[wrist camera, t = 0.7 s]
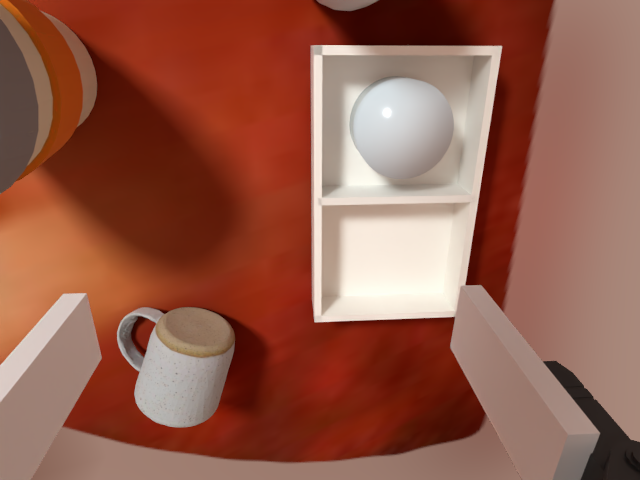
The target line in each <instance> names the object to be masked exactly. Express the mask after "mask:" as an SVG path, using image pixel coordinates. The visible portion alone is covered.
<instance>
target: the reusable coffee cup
mask: <svg viewBox="0 0 640 480" xmlns="http://www.w3.org/2000/svg"><path fill="white" fill-rule="evenodd" d="M96 96H97V78H96V71H95V68H94V65H93V62H92V59H91V57H90V55H89V53H88V51H87V50H86V48H85V46H84V45H83V43H82V42H81V41H80V39H79V38H78V37H77V36H76V34H75V33H74V32H72V31H71V30H70V29H69V28H68V27H67V26H66V25H65V24H64V23H62V22H61V21H59V20H58V19H56V18H55V17H53V16H51V15H49V14H47V13H45V12H42V11H40V10H39V9H38V8H37V7H36V6H34V5H33V4H31V3H30V2H28V1H27V0H0V194H1V193H2V192H4V191H5V190H6V189H8V188H9V187H11V186H12V185H13V183H14V182H15V181H18V180H20V179H22V178H23V177H25V176H26V175H28V174H29V173H31V172H32V171H33V170H35V169H36V168H38V167H39V166H40V165H41V164H42V163H44V162H45V161H46V160H47V159H48V158H50V157H51V156H52V155H53V154H55V153H56V152H57V151H58V150H59V149H61V148H62V147H63V146H64V145H65V143H66V142H67V141H68V140H69V139H70V138H71V137H72V135H73V133H74V131H75V129H76V128H77V127H78V126H79V125H80V124H82V123H83V122H84V120H85V119H86V118H87V117H88V116H89V114H90V112H91V110H92V109H93V107H94V103H95V100H96Z"/></svg>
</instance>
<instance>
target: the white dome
mask: <svg viewBox="0 0 640 480" xmlns="http://www.w3.org/2000/svg"><path fill="white" fill-rule="evenodd" d="M349 127H350V135H351V138H352V141H353V143H354V145H355V147H356V149H357V150H358V152H359V153H360V154H361V156H362V157H363V159H364V160H365V161H366V163H367V164H368V165H369V166H370V167H371V168H372V169H373V170H374V171H376V172H377V173H379V174H381V175H383V176H386V177H389V178H393V179H409V178H414V177H417V176H419V175H422V174H424V173H426V172H427V171H429V170H430V169H432V168H433V167H434V166H435V165H436V164H437V163H438V162H439V161H440V160H441V159H442V158H443V156H444V155H445V153H446V152H447V150H448V148H449V146H450V143H451V140H452V136H453V131H454V119H453V114H452V110H451V107H450V105H449V103H448V101H447V99H446V98H445V96H444V95H443V94H442V93H441V92H440V91H439V90H438V89H437V88H435V87H434V86H432V85H431V84H429V83H426V82H424V81H420V80H416V79H411V78H407V77H402V76H390V77H385V78H382V79H379V80H377V81H375V82H373V83H372V84H370V85H369V86H368V87H367V88H366V89H364V90H363V91H362V93H361V94H360V95H359V96H358V98H357V99H356V101H355V103H354V105H353V108H352V111H351V115H350V122H349Z"/></svg>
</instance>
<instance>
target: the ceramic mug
mask: <svg viewBox="0 0 640 480" xmlns="http://www.w3.org/2000/svg"><path fill="white" fill-rule="evenodd" d="M138 316H142V317H145V318H148V319H150V320H151V321H154V322H155V323H156V325H155V327H154V329H153V331H152V333H151V336H150V340H149V343H148V347H147V351H146V355H145V357H143V356H142V355H141V354H140V352H139V351H138V350H137V349H136V347H135V346H134V344H133V341H132V339H131V331H132V328H133V325H134V323H135V321H137V318H138ZM117 341H118V345H119V348H120V350H121V352H122V354H123V355H124V357H125V358H126V360H127V361H128V362H129V363H130V364H131V365H132V366H133V367H134V368H135V369H136V370H138V371H139V372H140V373H139V376H138V379H137V382H136V386H135V392H134V395H135V400H136V404H137V405H138V407H139V409H140V410H141V411H142V412H143V414H145V415H146V416H147V417H149V418H150V419H151V420H153V421H155V422H157V423H159V424H162V425H166V426H170V427H190V426H195V425H198V424H200V423H202V422H204V421H206V420H207V419H208V418H210V417H211V416H212V415H213V414H214V412H215V411H216V409H217V407H218V405H219V401H220V398H221V394H222V391H223V387H224V384H225V381H226V377H227V373H228V370H229V366H230V363H231V360H232V357H233V353H234V346H235V334H234V331H233V329H232V327H231V325H230V324H229V323H228V322H227V321H226V320H225V319H224V318H223V317H221V316H220V315H218V314H216V313H214V312H212V311H209V310H206V309H202V308H195V307H183V308H178V309H174V310H171V311H169V312H167V313H166V314H164V313H162V312H161V311H159V310H157V309H152V308H148V307H143V308H139V309H137V310H135V311H133V312H131V313H129V314H128V315H126V316H125V317H124V318H123V320H122V321H121V322H120V325H119V328H118V332H117Z"/></svg>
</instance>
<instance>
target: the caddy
mask: <svg viewBox="0 0 640 480" xmlns="http://www.w3.org/2000/svg"><path fill="white" fill-rule="evenodd" d="M501 51H502V46H361V45H312V46H311V215H312V303H313V313H314V322H333V321H360V320H386V319H412V318H438V317H455V316H456V311H457V305H458V299H459V293H460V288H461V286H465V284H466V277H467V271H468V264H469V258H470V251H471V245H472V238H473V232H474V225H475V219H476V212H477V206H478V200H479V193H480V187H481V180H482V174H483V167H484V161H485V154H486V148H487V141H488V135H489V128H490V122H491V115H492V109H493V103H494V96H495V90H496V83H497V77H498V70H499V64H500V57H501ZM390 76H402V77H407V78H411V79H416V80H420V81H424V82H426V83H429V84H431V85H432V86H434V87H435V88H437V89H438V90H439V91H440V92H441V93H442V94H443V95H444V96H445V98H446V99H447V101H448V103H449V105H450V107H451V110H452V114H453V119H454V131H453V136H452V140H451V143H450V146H449V148H448V150H447V152H446V153H445V155H444V156H443V158H442V159H441V160H440V161H439V162H438V163H437V164H436V165H435V166H434V167H433V168H432V169H430V170H429V171H427V172H426V173H424V174H422V175H419V176H417V177H414V178H409V179H393V178H389V177H386V176H383V175H381V174H379V173H377V172H376V171H374V170H373V169H372V168H371V167H370V166H369V165H368V164H367V163H366V161H365V160H364V159H363V157H362V156H361V154H360V153H359V152H358V150H357V149H356V147H355V145H354V143H353V141H352V138H351V135H350V127H349V122H350V115H351V111H352V108H353V105H354V103H355V101H356V99H357V98H358V96H359V95H360V94H361V93H362V91H363V90H364V89H366V88H367V87H368V86H369V85H370V84H372V83H373V82H375V81H377V80H379V79H382V78H385V77H390Z"/></svg>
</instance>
